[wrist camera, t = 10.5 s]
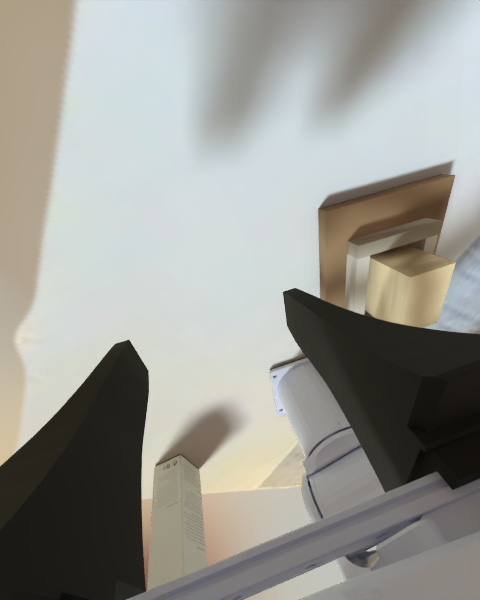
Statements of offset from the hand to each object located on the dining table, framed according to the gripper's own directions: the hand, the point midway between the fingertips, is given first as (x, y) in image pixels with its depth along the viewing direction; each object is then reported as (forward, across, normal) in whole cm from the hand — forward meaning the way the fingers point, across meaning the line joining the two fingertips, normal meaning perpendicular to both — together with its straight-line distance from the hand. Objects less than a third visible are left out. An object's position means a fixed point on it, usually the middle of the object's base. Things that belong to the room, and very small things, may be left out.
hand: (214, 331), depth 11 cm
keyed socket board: (+10, -17, +7) cm, 21 cm away
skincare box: (+11, +12, +30) cm, 34 cm away
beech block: (+9, -17, +7) cm, 21 cm away
